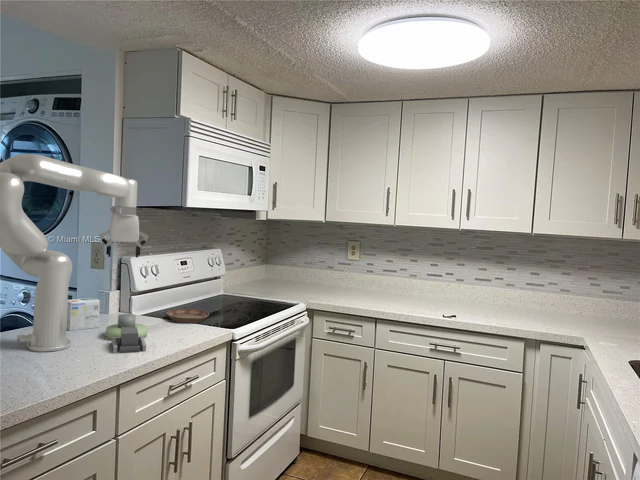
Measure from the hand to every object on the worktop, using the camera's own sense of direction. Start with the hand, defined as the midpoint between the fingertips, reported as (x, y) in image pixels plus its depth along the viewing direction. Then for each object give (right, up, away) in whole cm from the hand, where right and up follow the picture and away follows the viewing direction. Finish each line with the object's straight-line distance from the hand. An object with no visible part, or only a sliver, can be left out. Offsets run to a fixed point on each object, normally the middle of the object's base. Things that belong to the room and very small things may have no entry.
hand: (123, 256), depth 176 cm
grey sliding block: (+9, -30, -17) cm, 36 cm away
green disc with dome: (+6, -30, -10) cm, 32 cm away
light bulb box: (-17, -27, +2) cm, 32 cm away
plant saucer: (+17, -29, +27) cm, 43 cm away
